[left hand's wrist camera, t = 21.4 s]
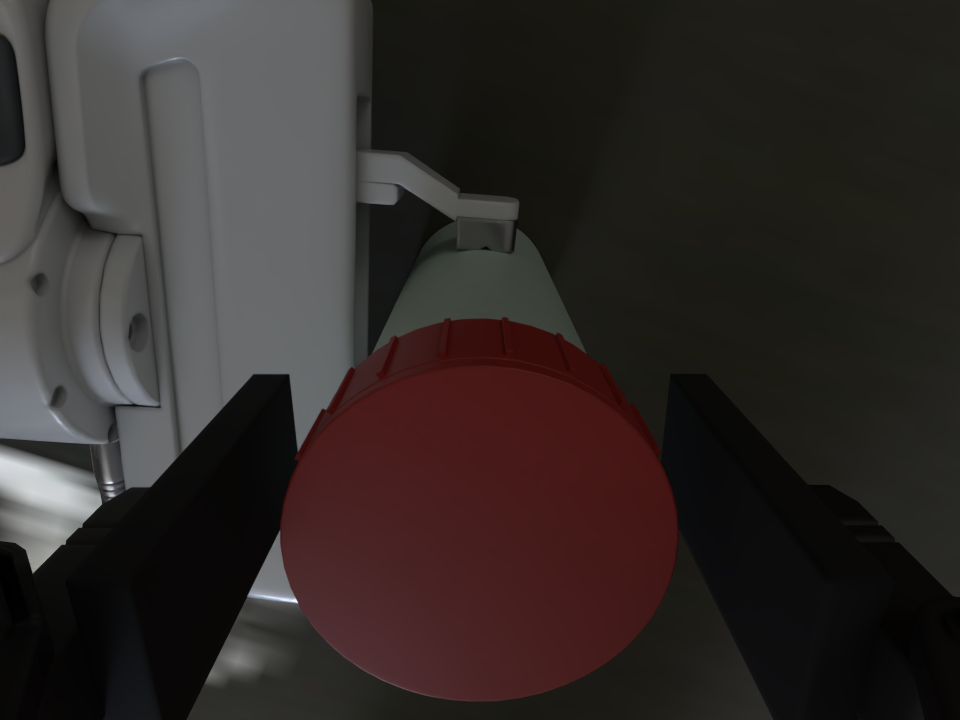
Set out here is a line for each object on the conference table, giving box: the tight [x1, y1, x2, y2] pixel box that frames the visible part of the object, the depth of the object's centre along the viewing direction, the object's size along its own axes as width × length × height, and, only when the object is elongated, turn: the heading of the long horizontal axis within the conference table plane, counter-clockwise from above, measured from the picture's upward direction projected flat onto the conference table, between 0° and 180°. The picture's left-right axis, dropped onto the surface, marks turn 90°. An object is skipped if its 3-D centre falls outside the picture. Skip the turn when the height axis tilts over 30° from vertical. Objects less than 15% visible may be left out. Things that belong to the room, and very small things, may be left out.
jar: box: [373, 221, 587, 354], centre depth 19 cm, size 6×6×17 cm
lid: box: [280, 317, 679, 701], centre depth 11 cm, size 6×6×2 cm
